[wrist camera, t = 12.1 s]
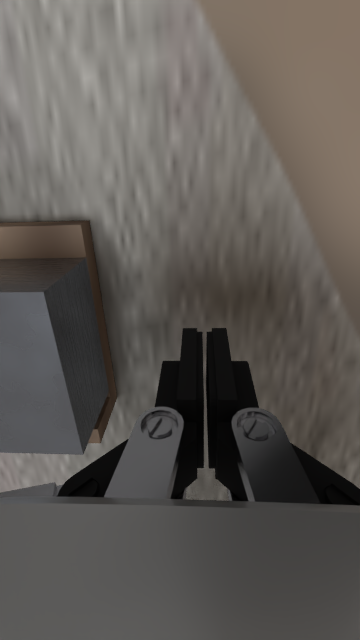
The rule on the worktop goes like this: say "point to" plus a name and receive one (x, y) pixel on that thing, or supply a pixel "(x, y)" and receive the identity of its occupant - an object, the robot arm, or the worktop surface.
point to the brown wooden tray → (64, 243)
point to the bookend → (48, 356)
